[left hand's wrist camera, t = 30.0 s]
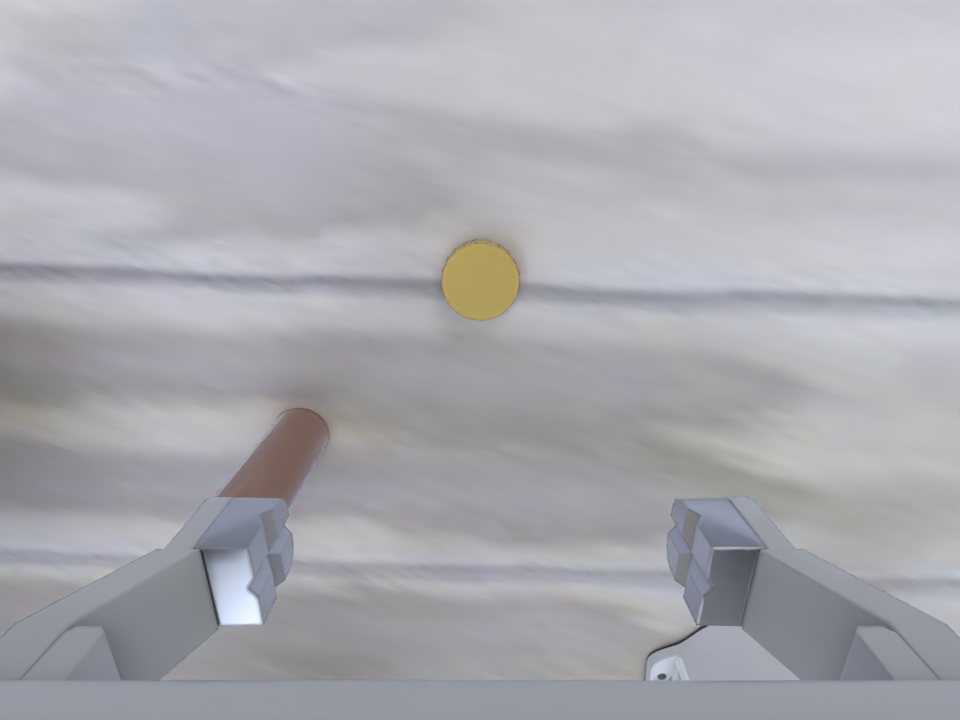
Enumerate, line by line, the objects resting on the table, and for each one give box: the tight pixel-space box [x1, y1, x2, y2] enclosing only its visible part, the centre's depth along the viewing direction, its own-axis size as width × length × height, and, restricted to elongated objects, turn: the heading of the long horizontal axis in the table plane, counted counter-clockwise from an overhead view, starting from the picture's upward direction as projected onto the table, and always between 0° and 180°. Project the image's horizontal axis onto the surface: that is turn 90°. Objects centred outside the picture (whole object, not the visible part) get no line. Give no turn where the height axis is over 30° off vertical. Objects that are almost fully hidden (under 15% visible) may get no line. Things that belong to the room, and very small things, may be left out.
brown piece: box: [213, 408, 329, 512], centre depth 33 cm, size 4×4×15 cm
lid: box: [441, 239, 520, 320], centre depth 35 cm, size 5×5×2 cm
